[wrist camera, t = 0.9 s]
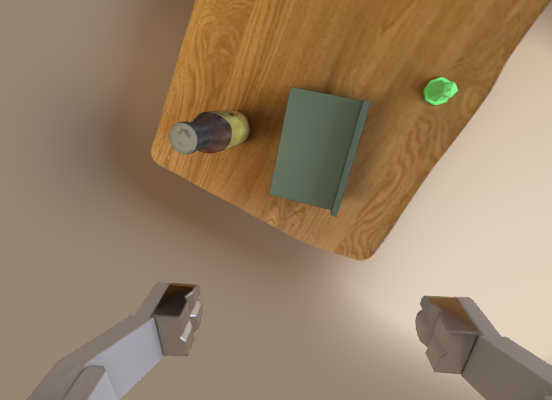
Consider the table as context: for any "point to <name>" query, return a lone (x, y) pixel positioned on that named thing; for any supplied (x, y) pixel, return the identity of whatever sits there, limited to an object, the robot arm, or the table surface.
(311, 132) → the shelf
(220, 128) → the sauce bottle
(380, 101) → the table surface
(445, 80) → the game piece
